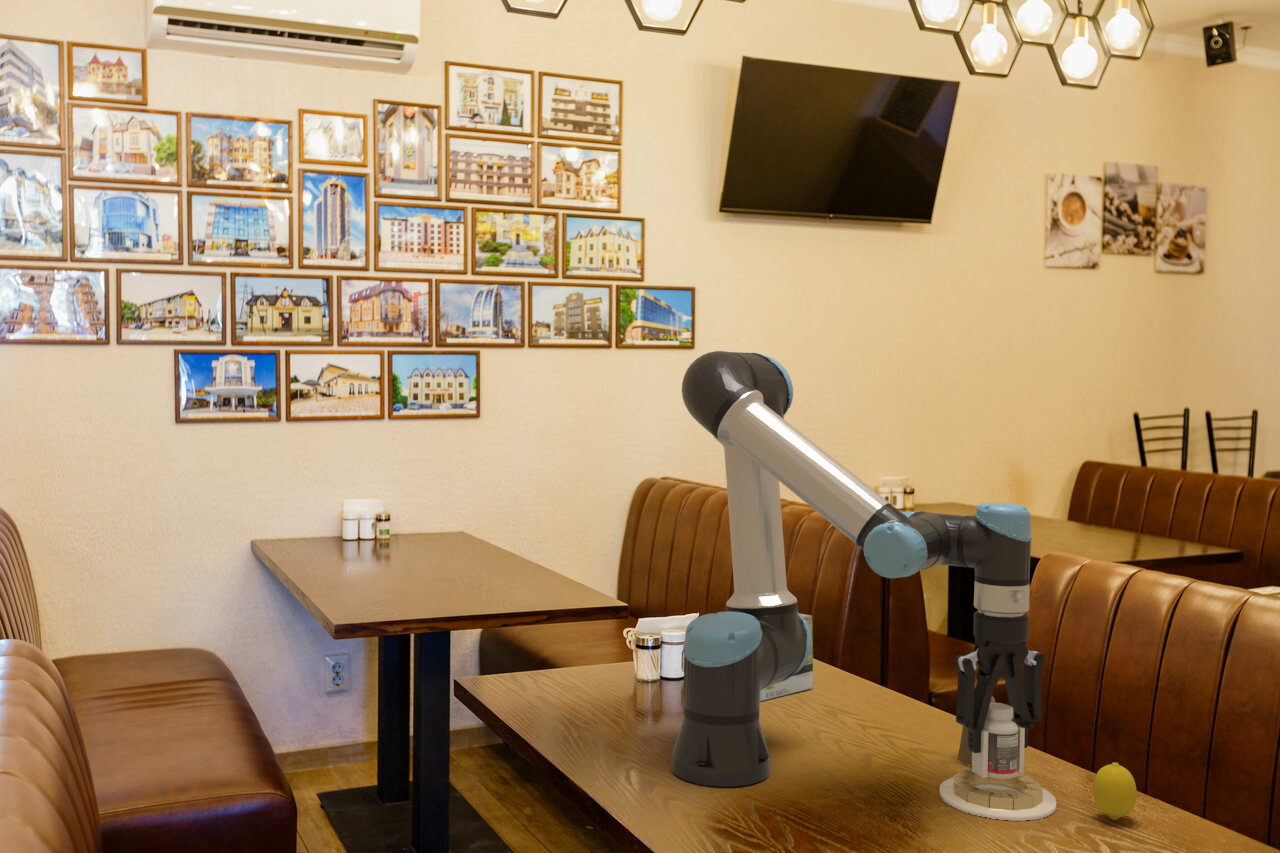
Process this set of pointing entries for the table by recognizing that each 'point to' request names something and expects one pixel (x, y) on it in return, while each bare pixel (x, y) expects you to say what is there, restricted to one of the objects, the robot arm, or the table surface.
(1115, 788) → the lemon
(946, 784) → the coaster
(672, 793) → the table surface
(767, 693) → the tea box
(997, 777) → the pill bottle
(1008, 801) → the collar
